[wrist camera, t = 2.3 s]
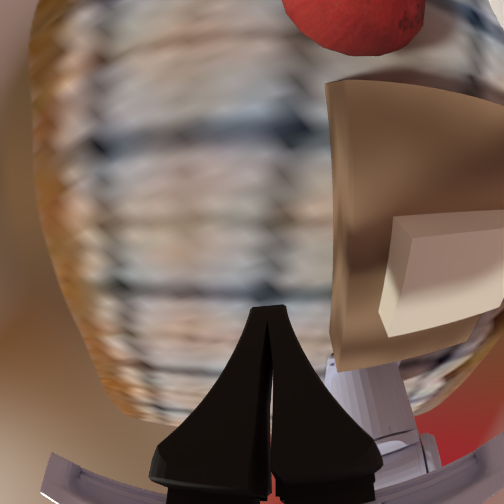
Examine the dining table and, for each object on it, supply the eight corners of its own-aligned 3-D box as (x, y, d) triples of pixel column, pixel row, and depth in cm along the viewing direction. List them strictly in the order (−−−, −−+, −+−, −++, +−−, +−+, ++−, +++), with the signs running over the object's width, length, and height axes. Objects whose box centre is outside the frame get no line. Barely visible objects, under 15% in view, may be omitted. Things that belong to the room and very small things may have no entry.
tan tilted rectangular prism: (485, 288, 13) (499, 307, 12) (378, 311, 14) (388, 337, 12) (509, 209, 10) (530, 225, 8) (393, 216, 11) (412, 238, 9)
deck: (448, 309, 20) (467, 341, 16) (329, 332, 21) (337, 372, 18) (487, 103, 10) (527, 114, 7) (324, 83, 12) (347, 79, 8)
